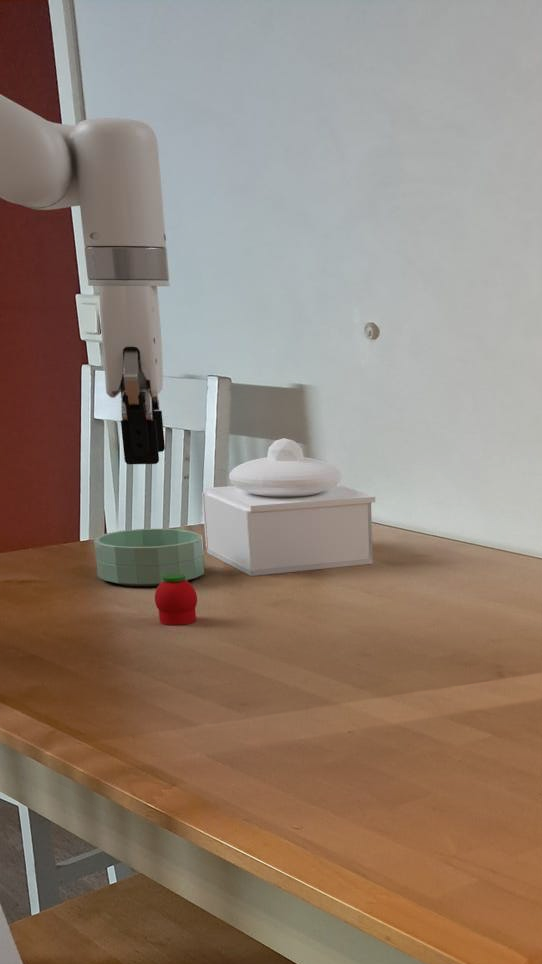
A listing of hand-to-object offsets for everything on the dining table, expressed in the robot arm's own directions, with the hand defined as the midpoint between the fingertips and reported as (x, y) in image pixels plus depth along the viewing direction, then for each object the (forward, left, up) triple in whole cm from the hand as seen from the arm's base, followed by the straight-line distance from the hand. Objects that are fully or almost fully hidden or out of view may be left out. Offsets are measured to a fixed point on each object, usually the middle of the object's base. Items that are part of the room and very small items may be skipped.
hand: (145, 457), depth 127 cm
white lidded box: (+15, +42, -19) cm, 48 cm away
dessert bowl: (-3, +32, -19) cm, 37 cm away
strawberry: (+1, +8, -19) cm, 20 cm away
